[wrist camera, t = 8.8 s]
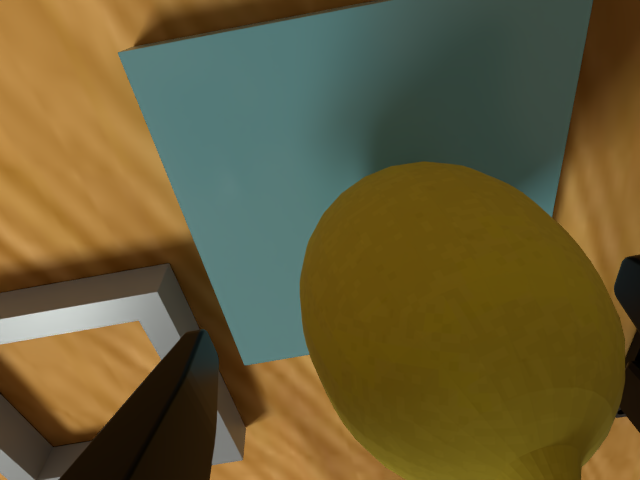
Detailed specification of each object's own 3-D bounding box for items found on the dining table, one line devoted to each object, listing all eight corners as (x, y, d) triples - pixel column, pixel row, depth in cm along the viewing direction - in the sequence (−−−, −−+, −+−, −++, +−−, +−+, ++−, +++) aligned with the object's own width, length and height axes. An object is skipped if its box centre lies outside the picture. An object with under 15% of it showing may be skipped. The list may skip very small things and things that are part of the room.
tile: (573, -38, 10) (600, -40, 9) (519, 299, 16) (533, 317, 15) (132, 46, 10) (117, 52, 9) (246, 345, 16) (244, 365, 15)
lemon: (442, 85, 10) (850, 243, 3) (484, 247, 13) (746, 516, 6) (250, 179, 11) (248, 489, 4) (330, 315, 13) (413, 635, 7)
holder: (169, 263, 13) (157, 292, 12) (245, 428, 19) (243, 460, 18) (-112, 312, 14) (-153, 345, 12) (44, 461, 19) (26, 495, 18)
